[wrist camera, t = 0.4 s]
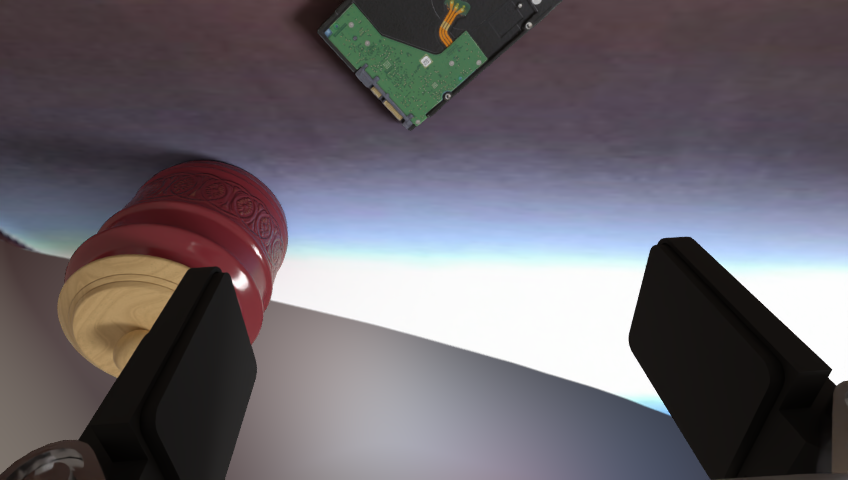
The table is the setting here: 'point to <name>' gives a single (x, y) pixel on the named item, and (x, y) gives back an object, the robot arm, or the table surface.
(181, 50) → the table surface
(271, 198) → the canister
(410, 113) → the disk drive
